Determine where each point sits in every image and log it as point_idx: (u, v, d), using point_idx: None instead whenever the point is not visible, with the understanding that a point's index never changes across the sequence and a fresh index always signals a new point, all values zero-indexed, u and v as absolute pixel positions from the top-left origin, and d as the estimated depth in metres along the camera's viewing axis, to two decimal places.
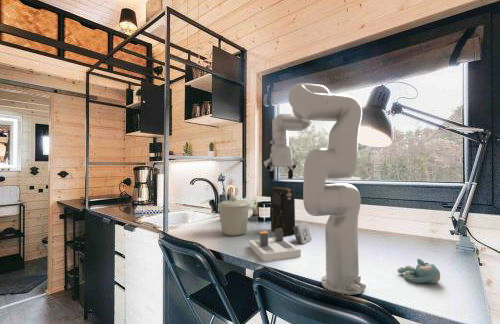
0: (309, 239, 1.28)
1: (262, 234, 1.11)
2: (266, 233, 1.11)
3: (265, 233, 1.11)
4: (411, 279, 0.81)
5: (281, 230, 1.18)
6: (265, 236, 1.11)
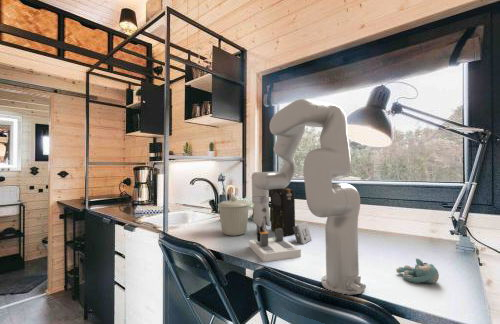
0: (309, 239, 1.28)
1: (262, 234, 1.10)
2: (266, 233, 1.11)
3: (265, 233, 1.11)
4: (409, 279, 0.81)
5: (281, 230, 1.18)
6: (265, 236, 1.11)
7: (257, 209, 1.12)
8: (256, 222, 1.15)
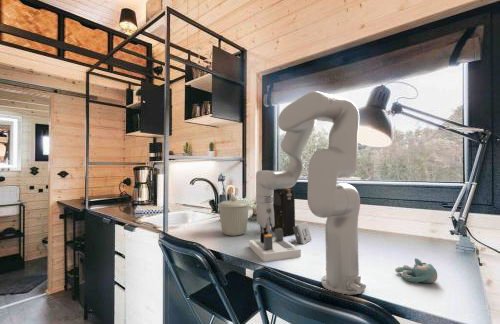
0: (309, 239, 1.28)
1: (266, 237, 1.06)
2: (270, 236, 1.06)
3: (269, 236, 1.06)
4: (408, 278, 0.82)
5: (281, 230, 1.18)
6: (269, 239, 1.06)
7: (261, 209, 1.07)
8: (260, 223, 1.09)
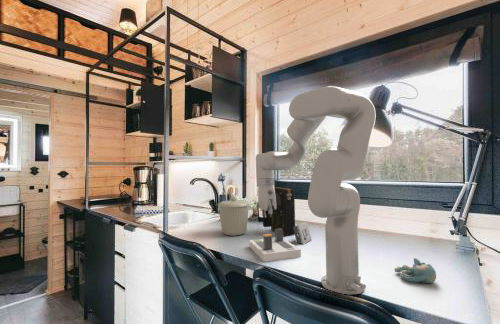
0: (309, 239, 1.28)
1: (266, 237, 1.06)
2: (270, 236, 1.07)
3: (269, 236, 1.07)
4: (406, 278, 0.82)
5: (281, 230, 1.18)
6: (268, 239, 1.07)
7: (263, 192, 1.06)
8: (261, 206, 1.08)
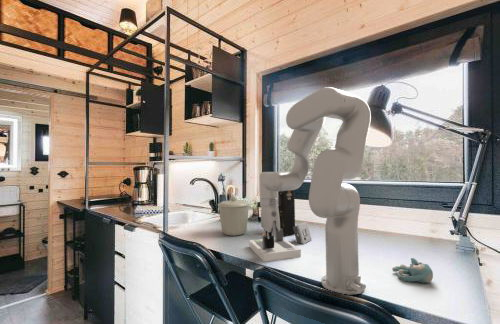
0: (309, 239, 1.28)
1: None
2: None
3: None
4: (403, 277, 0.82)
5: (281, 230, 1.18)
6: None
7: (266, 213, 1.02)
8: (264, 227, 1.04)
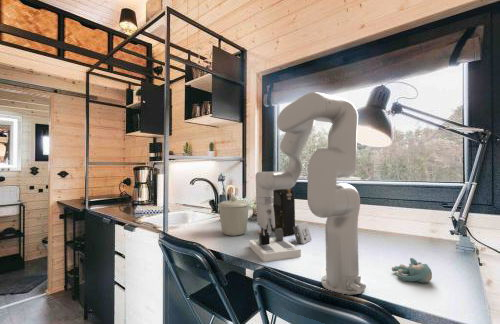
0: (309, 239, 1.28)
1: None
2: None
3: None
4: (402, 277, 0.83)
5: (281, 230, 1.18)
6: None
7: (262, 211, 1.07)
8: (260, 224, 1.09)
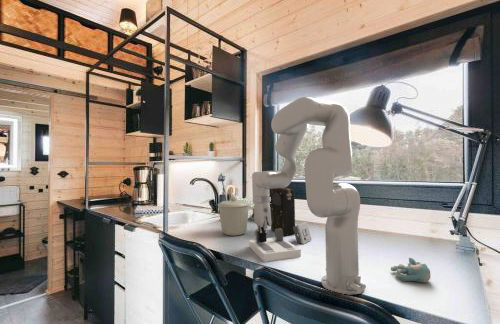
0: (309, 239, 1.28)
1: None
2: None
3: None
4: (400, 277, 0.83)
5: (281, 230, 1.18)
6: None
7: (258, 209, 1.10)
8: (257, 222, 1.13)
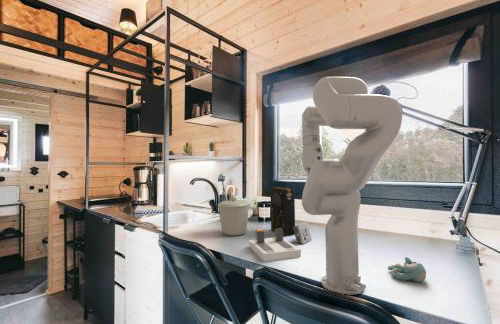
0: (309, 239, 1.28)
1: (259, 231, 1.15)
2: (262, 231, 1.16)
3: (261, 231, 1.15)
4: (395, 276, 0.84)
5: (281, 230, 1.18)
6: (261, 233, 1.15)
7: (310, 149, 1.03)
8: (307, 165, 1.05)
